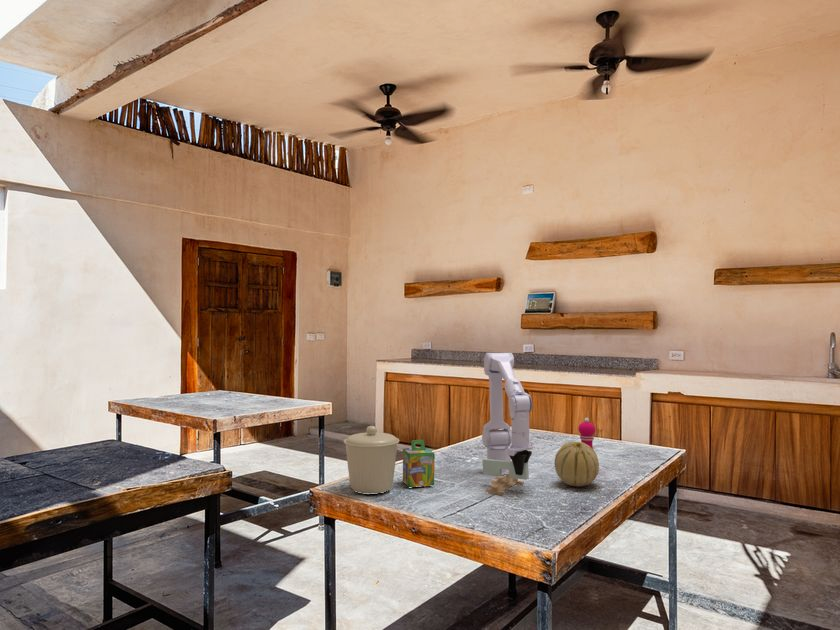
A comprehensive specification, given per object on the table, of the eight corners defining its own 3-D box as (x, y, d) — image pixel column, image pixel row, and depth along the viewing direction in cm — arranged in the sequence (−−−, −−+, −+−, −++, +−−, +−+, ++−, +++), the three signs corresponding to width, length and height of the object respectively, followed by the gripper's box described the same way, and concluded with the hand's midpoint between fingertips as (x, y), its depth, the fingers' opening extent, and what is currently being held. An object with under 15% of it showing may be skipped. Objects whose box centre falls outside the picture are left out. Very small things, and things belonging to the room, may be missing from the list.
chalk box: (408, 489, 188) (408, 444, 188) (401, 482, 196) (401, 438, 197) (435, 487, 190) (435, 442, 190) (427, 480, 199) (427, 437, 199)
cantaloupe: (581, 478, 202) (580, 435, 202) (609, 489, 188) (608, 443, 188) (545, 482, 196) (545, 438, 197) (571, 493, 183) (571, 446, 183)
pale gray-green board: (485, 473, 194) (484, 458, 194) (528, 478, 185) (528, 463, 185) (482, 474, 193) (482, 459, 193) (526, 479, 183) (526, 464, 184)
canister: (399, 483, 195) (399, 421, 195) (399, 499, 177) (399, 430, 177) (346, 483, 194) (346, 421, 195) (340, 499, 176) (340, 431, 177)
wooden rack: (507, 481, 197) (507, 468, 197) (523, 484, 193) (523, 471, 194) (485, 492, 184) (485, 478, 184) (502, 495, 180) (502, 481, 181)
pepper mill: (598, 475, 205) (598, 419, 205) (577, 474, 207) (577, 419, 207) (596, 470, 212) (596, 416, 213) (576, 469, 214) (575, 415, 214)
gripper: (522, 436, 178) (522, 480, 177) (540, 430, 189) (541, 471, 189) (501, 434, 182) (501, 477, 181) (521, 427, 194) (521, 468, 193)
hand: (520, 474), depth 186 cm, fingers closed on pale gray-green board, 2 cm apart
